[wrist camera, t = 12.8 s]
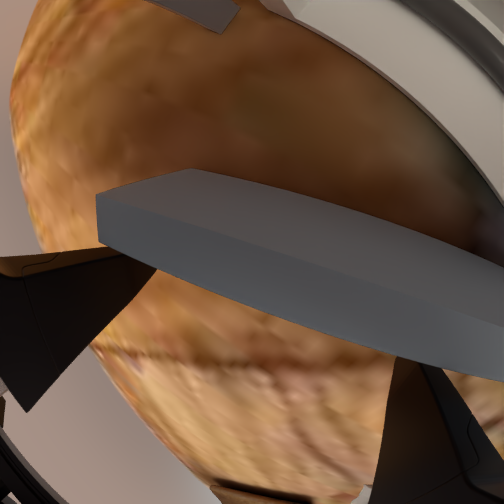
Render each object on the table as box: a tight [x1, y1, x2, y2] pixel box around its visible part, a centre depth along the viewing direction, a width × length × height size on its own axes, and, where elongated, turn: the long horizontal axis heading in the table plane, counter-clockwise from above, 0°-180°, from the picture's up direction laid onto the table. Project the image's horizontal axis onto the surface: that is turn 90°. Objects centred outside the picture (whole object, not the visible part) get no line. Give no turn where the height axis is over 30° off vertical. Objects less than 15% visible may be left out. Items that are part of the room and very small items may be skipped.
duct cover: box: [96, 168, 504, 382], centre depth 7 cm, size 17×2×5 cm, turn 80°
